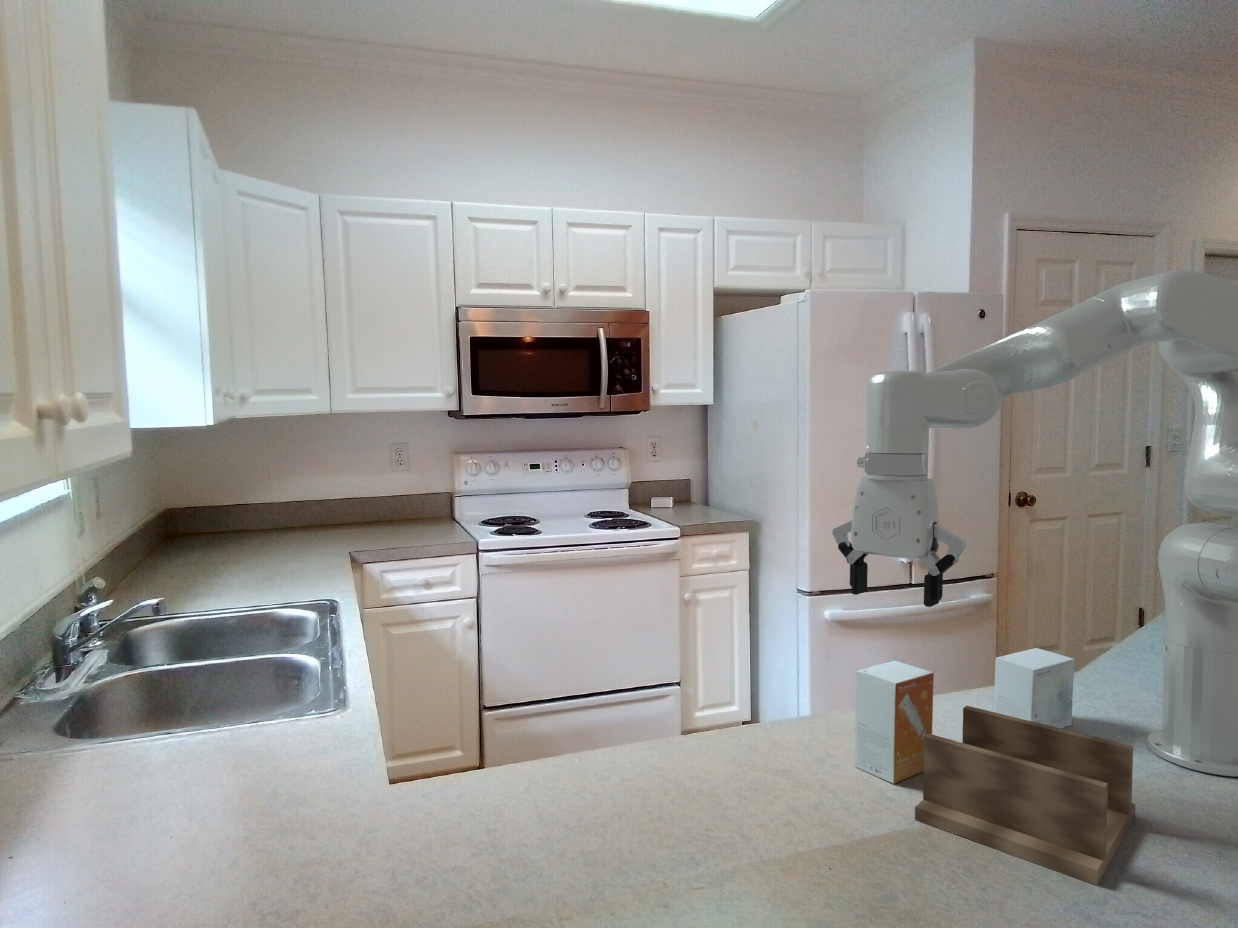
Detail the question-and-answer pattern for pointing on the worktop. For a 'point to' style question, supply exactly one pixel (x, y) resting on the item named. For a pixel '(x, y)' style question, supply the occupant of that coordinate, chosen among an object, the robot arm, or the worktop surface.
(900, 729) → the small box
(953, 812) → the book rack
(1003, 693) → the skincare box
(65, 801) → the worktop surface
